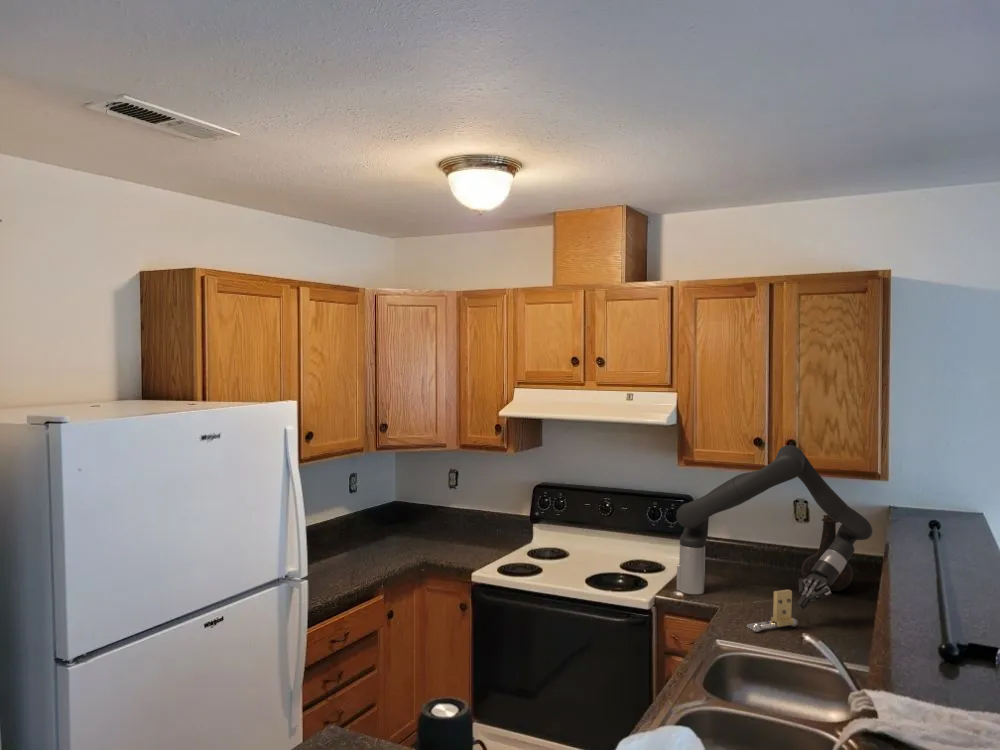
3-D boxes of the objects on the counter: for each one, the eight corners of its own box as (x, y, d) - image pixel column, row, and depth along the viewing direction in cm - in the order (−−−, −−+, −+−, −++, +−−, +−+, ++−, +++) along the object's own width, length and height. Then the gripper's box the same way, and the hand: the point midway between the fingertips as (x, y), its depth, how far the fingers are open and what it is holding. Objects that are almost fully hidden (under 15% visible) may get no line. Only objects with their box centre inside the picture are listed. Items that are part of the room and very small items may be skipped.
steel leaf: (756, 633, 235) (756, 625, 235) (744, 627, 241) (744, 619, 241) (798, 627, 242) (798, 619, 242) (785, 621, 247) (786, 613, 247)
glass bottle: (793, 587, 285) (795, 514, 285) (813, 578, 298) (814, 508, 297) (841, 599, 272) (843, 522, 272) (859, 589, 285) (861, 516, 284)
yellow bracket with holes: (778, 626, 238) (779, 593, 238) (770, 622, 242) (771, 590, 241) (793, 624, 240) (794, 591, 240) (785, 620, 244) (786, 588, 244)
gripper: (851, 579, 243) (821, 621, 239) (819, 568, 255) (790, 608, 251) (839, 564, 241) (809, 606, 236) (808, 554, 253) (779, 594, 249)
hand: (799, 607), depth 244 cm, fingers closed
